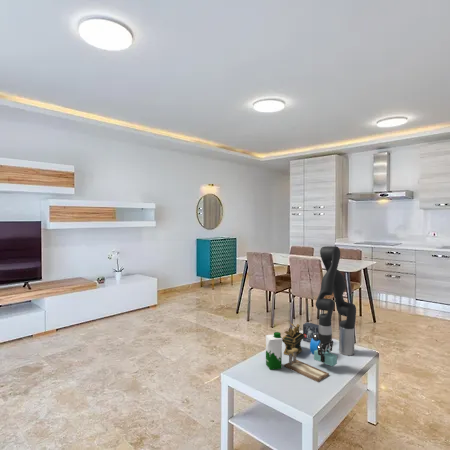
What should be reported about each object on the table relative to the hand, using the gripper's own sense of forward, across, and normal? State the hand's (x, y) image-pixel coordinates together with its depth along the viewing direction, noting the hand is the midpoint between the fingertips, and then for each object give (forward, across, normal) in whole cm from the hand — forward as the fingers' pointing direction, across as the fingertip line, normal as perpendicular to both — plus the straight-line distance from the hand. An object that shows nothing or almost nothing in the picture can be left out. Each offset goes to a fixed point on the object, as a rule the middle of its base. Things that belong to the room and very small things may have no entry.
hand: (325, 360), depth 187 cm
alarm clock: (+5, -12, -11) cm, 17 cm away
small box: (+5, -29, -27) cm, 40 cm away
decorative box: (+5, -2, -26) cm, 26 cm away
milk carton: (+4, +22, -21) cm, 31 cm away
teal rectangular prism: (+1, 0, 0) cm, 1 cm away
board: (+4, +12, -5) cm, 14 cm away
